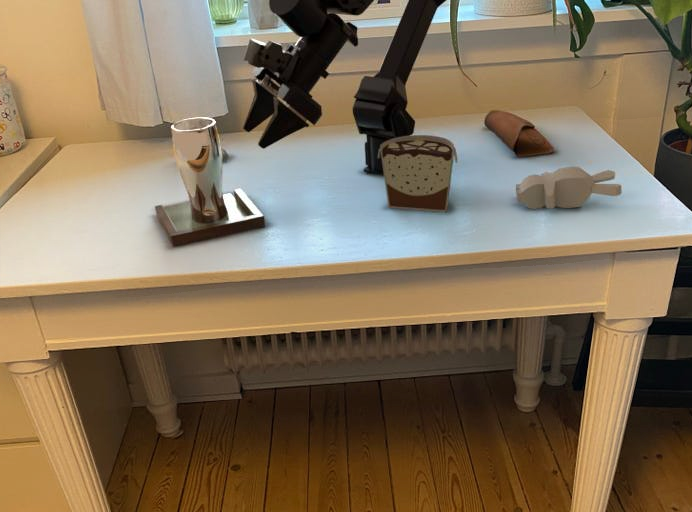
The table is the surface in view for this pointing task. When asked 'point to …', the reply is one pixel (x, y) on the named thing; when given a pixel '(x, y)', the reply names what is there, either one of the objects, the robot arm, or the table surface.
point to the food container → (418, 171)
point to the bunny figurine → (564, 188)
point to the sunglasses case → (517, 134)
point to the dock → (186, 232)
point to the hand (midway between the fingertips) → (252, 138)
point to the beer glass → (200, 168)
